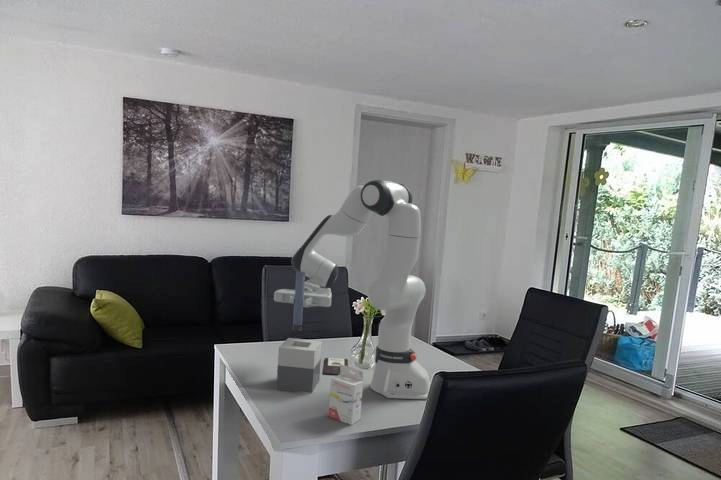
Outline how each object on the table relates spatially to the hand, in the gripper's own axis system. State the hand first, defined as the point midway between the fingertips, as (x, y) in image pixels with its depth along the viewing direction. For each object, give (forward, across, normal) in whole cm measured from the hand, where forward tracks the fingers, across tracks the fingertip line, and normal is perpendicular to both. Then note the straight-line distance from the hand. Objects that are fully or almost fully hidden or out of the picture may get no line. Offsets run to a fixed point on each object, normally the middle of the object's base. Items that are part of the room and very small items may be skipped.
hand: (298, 302), depth 164 cm
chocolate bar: (-21, +12, +29) cm, 38 cm away
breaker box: (0, +2, +28) cm, 28 cm away
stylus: (-1, 0, +10) cm, 10 cm away
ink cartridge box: (+22, +21, +28) cm, 42 cm away
